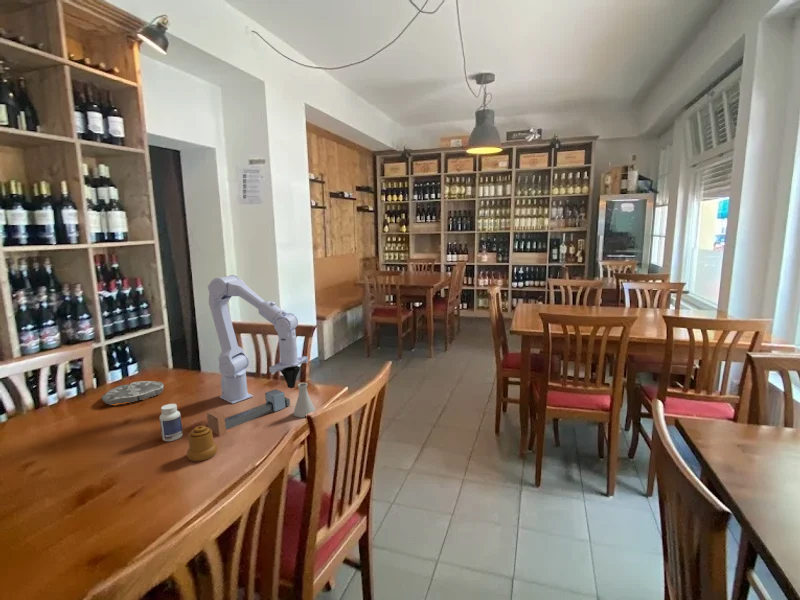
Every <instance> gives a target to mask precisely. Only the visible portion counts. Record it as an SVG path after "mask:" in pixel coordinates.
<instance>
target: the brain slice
mask: <svg viewBox="0 0 800 600" xmlns="http://www.w3.org/2000/svg"><path fill="white" fill-rule="evenodd" d="M163 383H164V382H162V381H157V380H156V381H155V380H154V381H153V380H147V381H146V380H140V381H134V382H130V383H129V384H122V385H116V386H115V387H114V388H111V389H109V390H108V391H107V392H105V393H104V394H103V395H102V396H101V398H100V399H101V400H102V401H103V402H104V403H105V404H107V405H108V404H109V405H108V406H111V404H116V403H124V402H134V401H138V400H143V399H146V398H149V397H152V398H154V397H153V396H155V397H157V396H156V395H158V394H159V395H160V394H162V392H163V391H164V389H165V384H163ZM159 395H158V396H159ZM149 399H150V398H149ZM146 400H147V399H146ZM138 402H139V401H138Z"/></svg>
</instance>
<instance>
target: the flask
mask: <svg viewBox="0 0 800 600" xmlns="http://www.w3.org/2000/svg"><path fill="white" fill-rule="evenodd" d="M307 387H308V383H307V382H300V383H298V384H297V388H298V397H297V401H296V403H295V407H294V411H293V417H296V418H306V417H305V416H306V414H308V413H310V412H313V411H315V412H316V408H315V406H314V404H313V402H312V400H311V397H310V395H309V393H308V392H309V391H308V388H307Z"/></svg>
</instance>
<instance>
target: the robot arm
mask: <svg viewBox="0 0 800 600" xmlns="http://www.w3.org/2000/svg"><path fill="white" fill-rule="evenodd" d="M207 289H208V293H209V295H208V306H209V308H210V312H211V315H212V320H213V323H214V327H215V330H216V333H217V338H218V341H219V344H220V348H221V352H220V354H219V356H218V358H217V360H218V362H219V363H218V370H219V373H220V374H221V376H220V377H221V378H220V388H221V395H219V398H221V399H222V400H224V401H226V402H228V403H231V404H236V403H239V402H242V401H245V400H247V399H251V398H252V397H254V395H253V394H251V393H249V392H248V383H247V382H248V381H247V368H248V367H249V364H250V359H249V356H247V355H246V353H245V351H244V349H243V348H242V347H241V346H239V344H238V341H237V336H236V333H235V330H234V326H233V322H232V319H231V315H230V311H229V308H228V302H229V301H230V300H231V299H232V297H240V298H241V299H243V300H244V301H246V303H249V304H250V305H252V306H253V307H255V308H256V309H258V314H259V316H261V317H262V318H264V319H265V320H267V321H268V322H269V323H270V324H272V325H273V328H274V330H275V331H276V333H277V337H278V346H279V357H280V358H279V359H280V362H277V363H276V364H274V365H271V366H269V373H270V374H276V373H277V372H280V373H281V374H282V376H283V378H284V381H286V385H287V388H289V389H294V388H295V386H296V380H297V377H298V374H299V373H300V369H301V367H300V366H299V365H302V364H307V363H309V356H306V355H305V356H301V357H298V347H297V346H298V345H297V336H296V335H297V334H296V328H297V327H298V325H299V321H298V318H297V316H296V315H295V314H294V313H292V312H287V311H286V310H283V309H282V308H280V307H279V306H278V305H277V302H275V301H271V300H264V299H263V298H262V297H261V296H259V294H257V293H256V292H255V291H254V290H253V289H251V288H250V287H249V286H248V285H247V284H246V283H245V281H244V280H243V279H241V278H240V277H238V275H234V274H231V275H227V276H222V277H215V278H213V279H212V280H211V281H210V282H209V284H208V286H207Z"/></svg>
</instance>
